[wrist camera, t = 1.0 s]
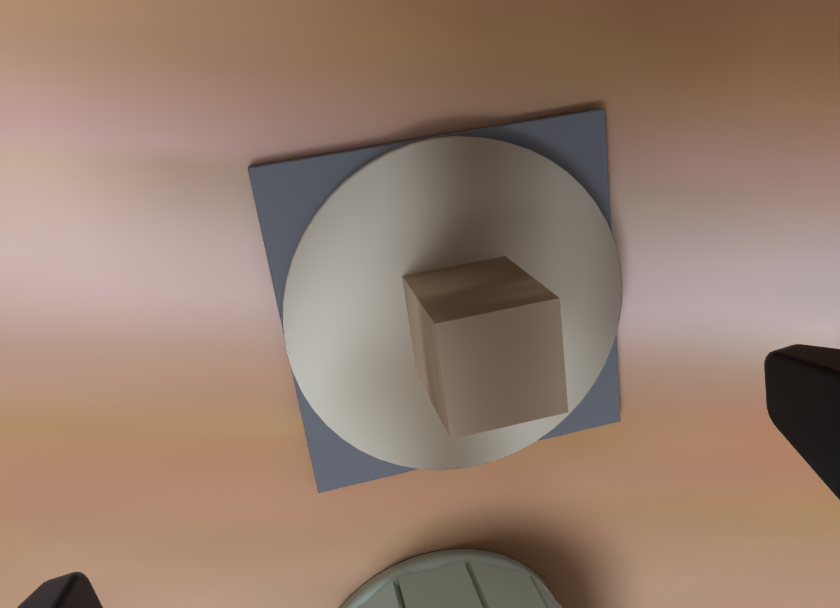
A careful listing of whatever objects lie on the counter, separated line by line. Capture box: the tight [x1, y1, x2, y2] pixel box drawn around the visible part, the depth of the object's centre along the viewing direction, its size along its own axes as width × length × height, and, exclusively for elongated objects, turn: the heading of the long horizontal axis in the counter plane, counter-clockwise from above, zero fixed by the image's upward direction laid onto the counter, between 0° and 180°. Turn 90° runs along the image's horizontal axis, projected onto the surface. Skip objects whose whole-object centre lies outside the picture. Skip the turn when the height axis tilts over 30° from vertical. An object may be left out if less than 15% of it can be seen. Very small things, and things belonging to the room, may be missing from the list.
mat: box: [248, 108, 620, 493], centre depth 21 cm, size 10×10×1 cm
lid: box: [283, 136, 622, 470], centre depth 19 cm, size 10×10×5 cm
